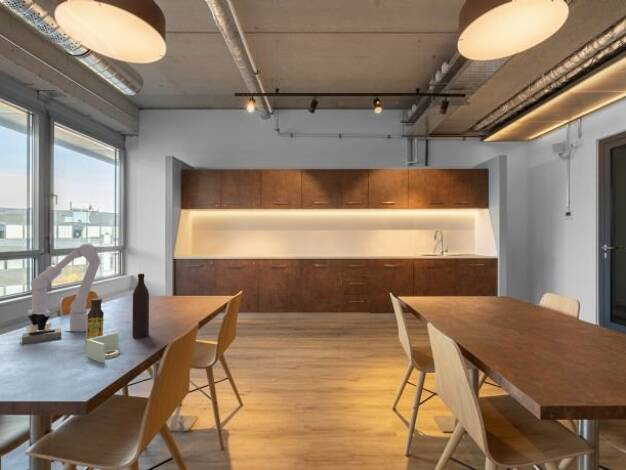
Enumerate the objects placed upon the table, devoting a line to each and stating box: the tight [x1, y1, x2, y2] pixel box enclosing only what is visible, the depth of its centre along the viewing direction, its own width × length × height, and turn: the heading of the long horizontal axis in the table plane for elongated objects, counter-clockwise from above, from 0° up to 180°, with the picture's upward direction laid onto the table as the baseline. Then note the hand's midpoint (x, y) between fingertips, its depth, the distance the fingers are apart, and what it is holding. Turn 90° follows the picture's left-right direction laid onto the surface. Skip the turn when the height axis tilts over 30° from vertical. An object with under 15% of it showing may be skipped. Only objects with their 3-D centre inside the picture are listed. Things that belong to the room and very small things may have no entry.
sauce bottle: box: [85, 297, 105, 345], centre depth 152 cm, size 6×6×20 cm
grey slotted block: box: [21, 327, 62, 345], centre depth 158 cm, size 14×8×3 cm, turn 129°
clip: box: [26, 321, 52, 333], centre depth 166 cm, size 9×3×4 cm, turn 159°
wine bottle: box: [131, 273, 150, 339], centre depth 163 cm, size 7×7×30 cm
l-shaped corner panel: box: [86, 331, 120, 364], centre depth 137 cm, size 12×12×8 cm
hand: (39, 329), depth 166 cm, fingers closed on clip, 3 cm apart
